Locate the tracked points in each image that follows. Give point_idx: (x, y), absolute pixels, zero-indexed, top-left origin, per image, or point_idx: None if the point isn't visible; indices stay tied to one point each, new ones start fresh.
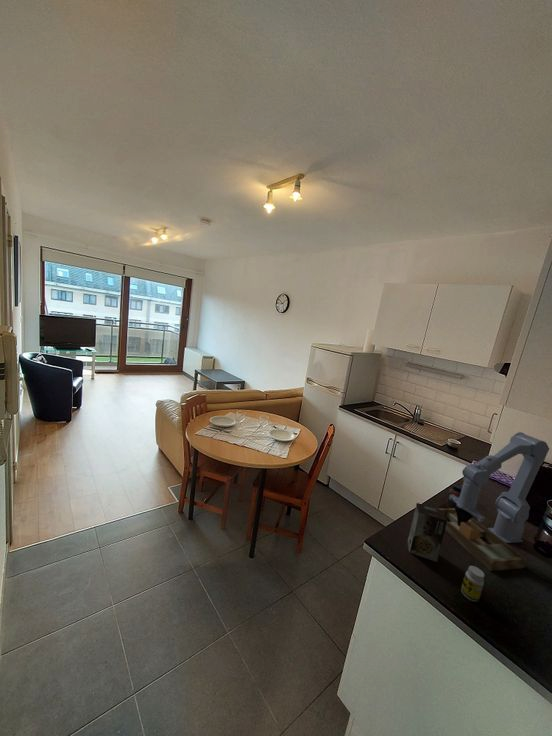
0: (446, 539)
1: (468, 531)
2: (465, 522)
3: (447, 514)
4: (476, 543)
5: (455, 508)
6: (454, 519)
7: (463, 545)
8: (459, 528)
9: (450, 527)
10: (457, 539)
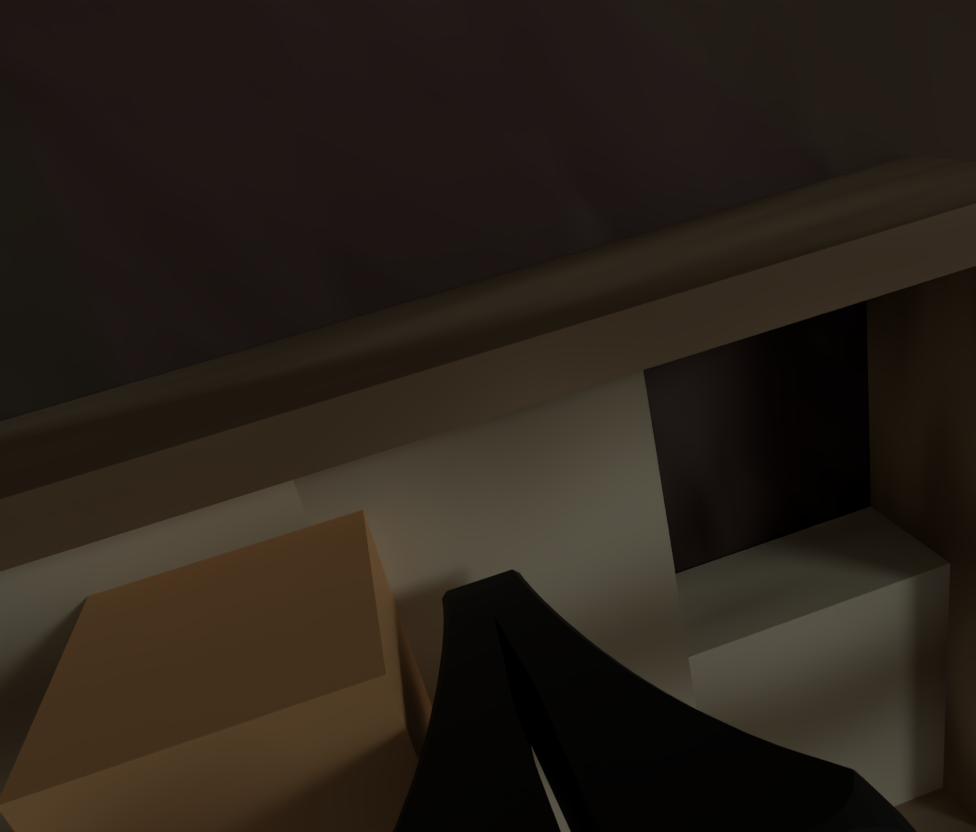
0: (163, 119)
1: (93, 705)
2: (399, 789)
3: (906, 549)
4: (4, 709)
5: (830, 802)
6: (765, 611)
7: (19, 424)
8: (361, 548)
9: (424, 351)
10: (180, 380)
